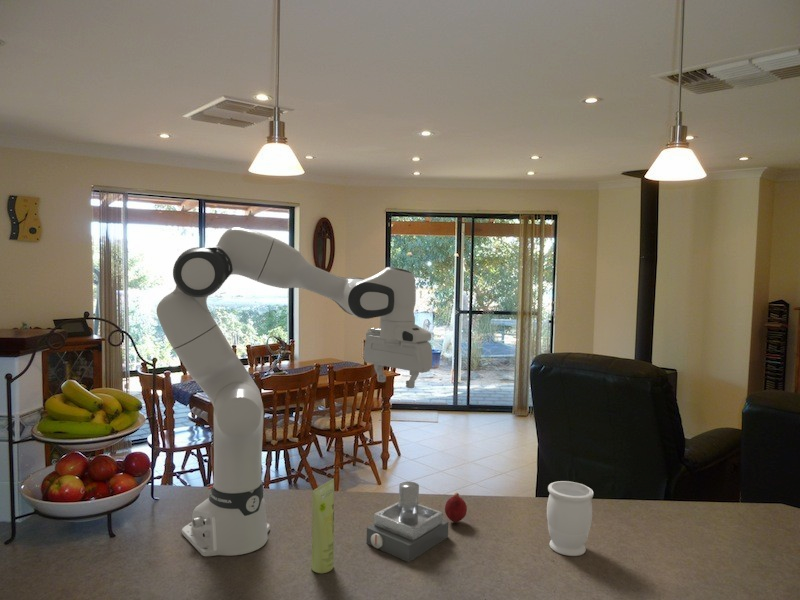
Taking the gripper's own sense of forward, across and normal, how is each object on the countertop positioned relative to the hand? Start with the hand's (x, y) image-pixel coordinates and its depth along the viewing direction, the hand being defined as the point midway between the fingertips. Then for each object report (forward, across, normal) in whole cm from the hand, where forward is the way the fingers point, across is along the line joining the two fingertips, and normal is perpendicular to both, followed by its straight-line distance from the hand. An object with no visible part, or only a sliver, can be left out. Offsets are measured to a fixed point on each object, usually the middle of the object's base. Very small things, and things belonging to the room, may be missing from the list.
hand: (395, 384), depth 150 cm
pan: (+33, +8, -4) cm, 34 cm away
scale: (+37, +8, -4) cm, 38 cm away
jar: (+37, +40, +19) cm, 58 cm away
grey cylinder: (+32, +8, -4) cm, 33 cm away
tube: (+37, +2, -27) cm, 46 cm away
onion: (+37, +12, +12) cm, 41 cm away
